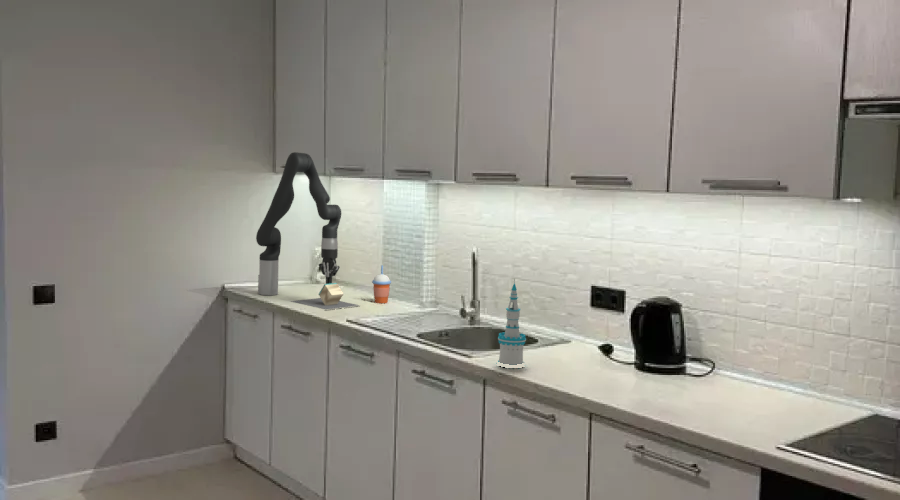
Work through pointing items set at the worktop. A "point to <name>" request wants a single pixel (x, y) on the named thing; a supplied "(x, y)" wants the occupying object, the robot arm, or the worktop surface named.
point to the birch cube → (330, 294)
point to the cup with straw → (381, 287)
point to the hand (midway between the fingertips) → (328, 284)
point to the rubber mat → (320, 304)
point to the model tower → (512, 335)
